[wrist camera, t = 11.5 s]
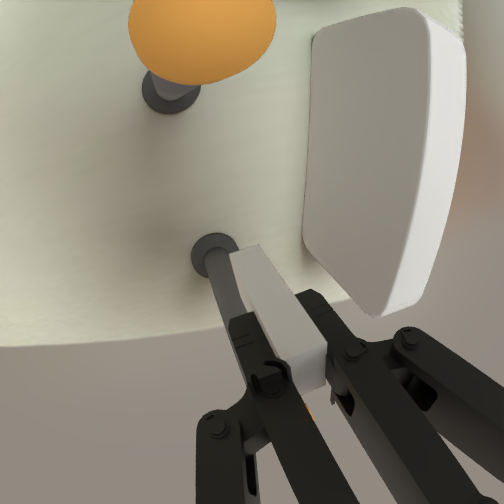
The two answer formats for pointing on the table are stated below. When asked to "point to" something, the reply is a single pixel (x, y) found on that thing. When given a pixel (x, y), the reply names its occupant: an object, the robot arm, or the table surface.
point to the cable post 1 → (196, 44)
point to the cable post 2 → (221, 277)
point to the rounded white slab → (383, 152)
